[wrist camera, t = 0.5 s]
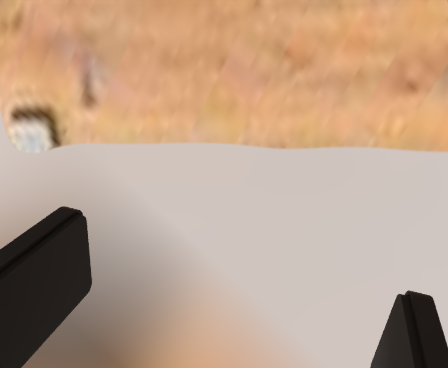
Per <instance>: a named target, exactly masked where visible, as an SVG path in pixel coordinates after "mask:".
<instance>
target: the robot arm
mask: <svg viewBox="0 0 448 368" xmlns="http://www.w3.org/2000/svg"><path fill="white" fill-rule="evenodd" d="M91 285H92V278H91V267H90V254H89V243H88V231H87V221H86V217H84V216H83V213H82V212H81V211H80V210H77V209H73V208H69V207H60V208H58V209H57V210H56V211H54V212H53V213H51V214H50V215H48V216H47V217H46V218H44V219H43V220H41V221H40V222H38V223H37V224H36V225H34V226H33V227H31V228H30V229H29V230H27V231H26V232H24V233H23V234H21V235H20V236H19V237H17V238H16V239H14V240H13V241H12V242H10V243H9V244H8V245H6V246H4V247H3V248H2V249H0V368H21V367H22V366H23V365H24V364H25V363H26V362H27V361H28V359H29V358H30V357H31V356H32V355H33V354H34V353H35V352H36V351H37V349H38V348H39V347H40V346H41V345H42V344H43V342H45V341H46V339H47V338H48V337H49V336H50V335H51V334H52V333H53V332H54V331H55V329H56V328H57V327H58V326H59V325H60V324H61V323H62V322H63V321H64V319H65V318H66V317H67V316H68V315H69V314H70V313H71V312H72V310H73V309H74V308H75V307H76V306H77V305H78V304H79V303H80V301H81V300H82V299H83V298H84V297H85V296H86V295H87V294H88V292H89V291H90V288H91ZM370 368H448V346H447V343H446V340H445V336H444V333H443V330H442V327H441V323H440V320H439V316H438V313H437V310H436V306H435V303H434V300H433V298H432V297H431V296H429V295H425V294H421V293H417V292H413V291H407V292H406V294H405V295H402V294H398V295H397V297H396V300H395V302H394V305H393V308H392V310H391V313H390V315H389V319H388V321H387V323H386V326H385V329H384V331H383V334H382V337H381V339H380V342H379V345H378V347H377V350H376V352H375V355H374V358H373V360H372V363H371V367H370Z"/></svg>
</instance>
